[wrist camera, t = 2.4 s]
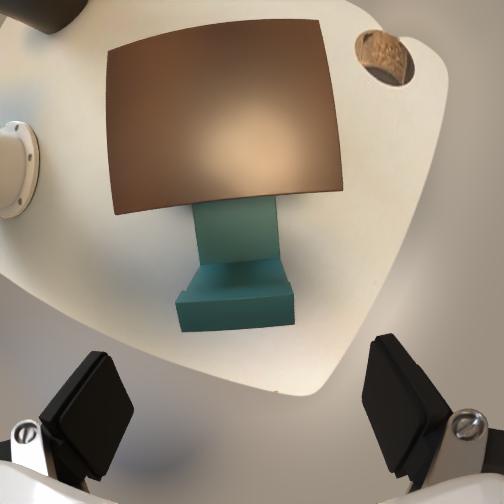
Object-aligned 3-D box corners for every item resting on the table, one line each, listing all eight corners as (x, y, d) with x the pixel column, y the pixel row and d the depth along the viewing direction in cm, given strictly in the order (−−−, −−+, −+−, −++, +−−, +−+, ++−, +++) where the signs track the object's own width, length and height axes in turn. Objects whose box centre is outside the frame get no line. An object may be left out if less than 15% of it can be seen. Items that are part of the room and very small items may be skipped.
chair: (275, 255, 26) (294, 324, 14) (213, 261, 27) (181, 332, 14) (267, 165, 24) (283, 152, 12) (202, 172, 24) (153, 168, 12)
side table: (173, 197, 25) (114, 215, 13) (165, 98, 22) (107, 50, 11) (302, 184, 25) (344, 191, 13) (291, 83, 22) (318, 19, 10)
